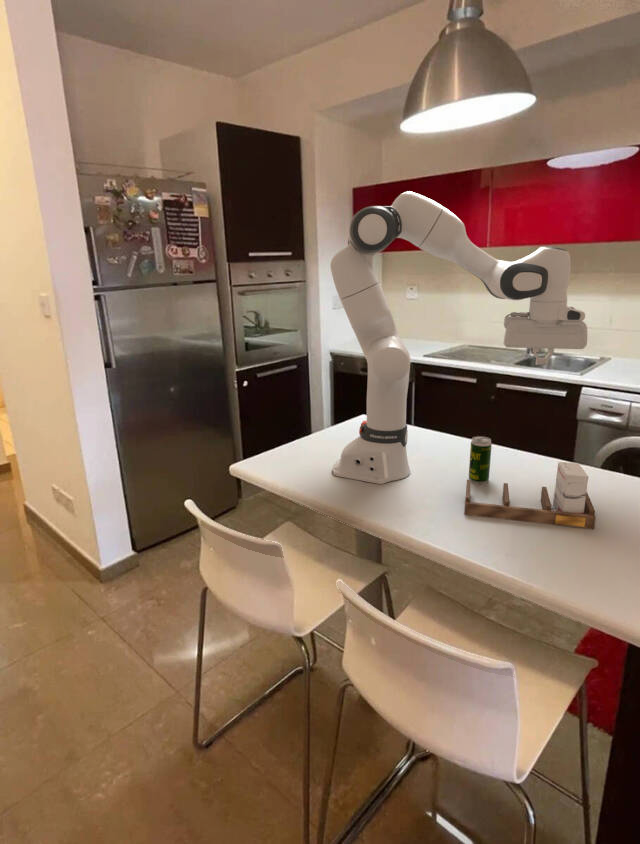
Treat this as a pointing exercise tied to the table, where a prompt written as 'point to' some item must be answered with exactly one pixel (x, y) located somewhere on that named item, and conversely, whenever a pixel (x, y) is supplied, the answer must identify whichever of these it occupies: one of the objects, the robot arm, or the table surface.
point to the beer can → (480, 460)
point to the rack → (531, 511)
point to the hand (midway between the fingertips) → (541, 364)
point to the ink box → (570, 488)
